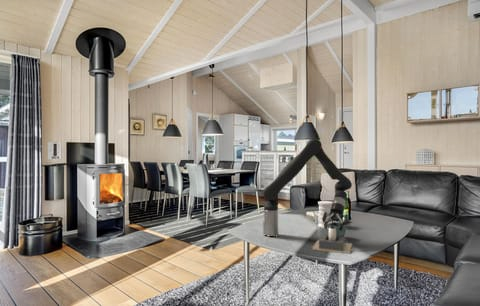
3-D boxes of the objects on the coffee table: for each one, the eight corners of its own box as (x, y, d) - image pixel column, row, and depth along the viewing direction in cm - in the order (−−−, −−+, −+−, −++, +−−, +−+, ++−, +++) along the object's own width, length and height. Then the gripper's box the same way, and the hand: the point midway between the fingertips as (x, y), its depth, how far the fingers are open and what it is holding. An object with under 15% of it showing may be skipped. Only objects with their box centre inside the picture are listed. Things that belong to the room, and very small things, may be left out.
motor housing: (312, 249, 169) (312, 240, 169) (317, 241, 184) (317, 233, 184) (349, 253, 161) (349, 244, 161) (352, 245, 176) (351, 236, 176)
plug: (328, 246, 172) (327, 220, 172) (329, 244, 175) (328, 218, 175) (335, 247, 170) (335, 220, 170) (336, 245, 174) (336, 219, 174)
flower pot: (338, 241, 184) (338, 226, 184) (326, 238, 192) (326, 224, 192) (347, 238, 190) (346, 224, 190) (335, 235, 197) (334, 222, 197)
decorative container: (337, 227, 218) (337, 202, 218) (324, 229, 214) (324, 204, 214) (327, 224, 229) (327, 200, 229) (314, 225, 225) (314, 201, 225)
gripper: (325, 201, 185) (319, 224, 175) (348, 203, 176) (343, 227, 167) (328, 208, 189) (322, 231, 179) (351, 211, 181) (346, 234, 171)
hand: (332, 229), depth 173 cm, fingers open, 8 cm apart
